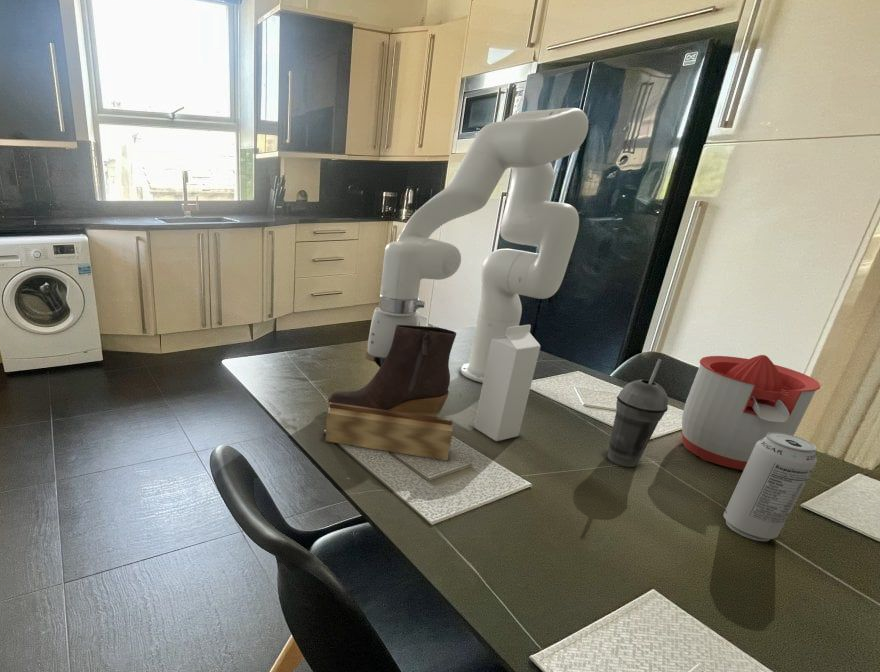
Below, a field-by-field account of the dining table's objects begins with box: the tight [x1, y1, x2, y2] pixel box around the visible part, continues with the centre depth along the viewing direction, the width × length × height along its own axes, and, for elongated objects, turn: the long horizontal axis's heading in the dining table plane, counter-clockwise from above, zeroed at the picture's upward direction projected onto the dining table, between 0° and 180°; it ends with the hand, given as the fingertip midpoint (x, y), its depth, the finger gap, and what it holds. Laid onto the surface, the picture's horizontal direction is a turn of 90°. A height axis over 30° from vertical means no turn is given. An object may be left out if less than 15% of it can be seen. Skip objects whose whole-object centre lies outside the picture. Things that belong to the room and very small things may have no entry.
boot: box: [326, 325, 457, 417], centre depth 98 cm, size 9×24×20 cm, turn 84°
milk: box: [473, 324, 541, 442], centre depth 92 cm, size 6×6×22 cm
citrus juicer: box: [680, 354, 821, 471], centre depth 86 cm, size 16×17×20 cm
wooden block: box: [324, 402, 454, 461], centre depth 89 cm, size 22×3×7 cm, turn 75°
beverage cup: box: [607, 358, 669, 468], centre depth 84 cm, size 7×7×20 cm
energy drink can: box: [723, 432, 818, 542], centre depth 68 cm, size 6×6×15 cm
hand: (387, 386), depth 105 cm, fingers closed
